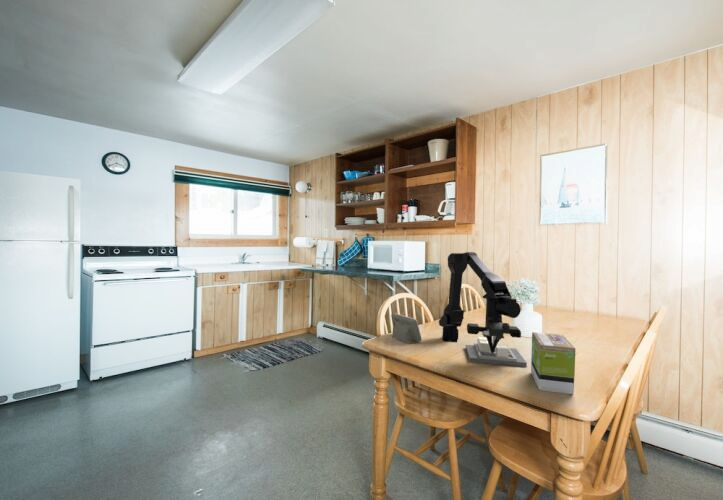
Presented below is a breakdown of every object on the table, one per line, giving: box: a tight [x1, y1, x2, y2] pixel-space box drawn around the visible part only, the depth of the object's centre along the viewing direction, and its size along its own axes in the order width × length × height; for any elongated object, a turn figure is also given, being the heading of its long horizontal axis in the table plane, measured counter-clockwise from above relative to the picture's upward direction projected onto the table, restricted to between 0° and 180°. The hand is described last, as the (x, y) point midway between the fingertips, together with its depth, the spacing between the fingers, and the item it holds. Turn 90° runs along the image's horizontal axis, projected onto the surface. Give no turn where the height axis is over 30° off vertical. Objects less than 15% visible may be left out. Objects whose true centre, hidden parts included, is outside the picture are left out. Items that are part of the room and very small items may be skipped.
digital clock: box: [390, 312, 422, 343], centre depth 159 cm, size 16×9×11 cm, turn 25°
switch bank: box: [465, 342, 528, 368], centre depth 137 cm, size 20×16×2 cm
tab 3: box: [495, 345, 509, 358], centre depth 132 cm, size 4×4×4 cm
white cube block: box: [479, 340, 491, 352], centre depth 138 cm, size 4×4×4 cm
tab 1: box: [476, 336, 488, 347], centre depth 143 cm, size 4×4×4 cm
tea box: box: [530, 331, 576, 395], centre depth 114 cm, size 15×10×15 cm
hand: (492, 352), depth 133 cm, fingers closed
